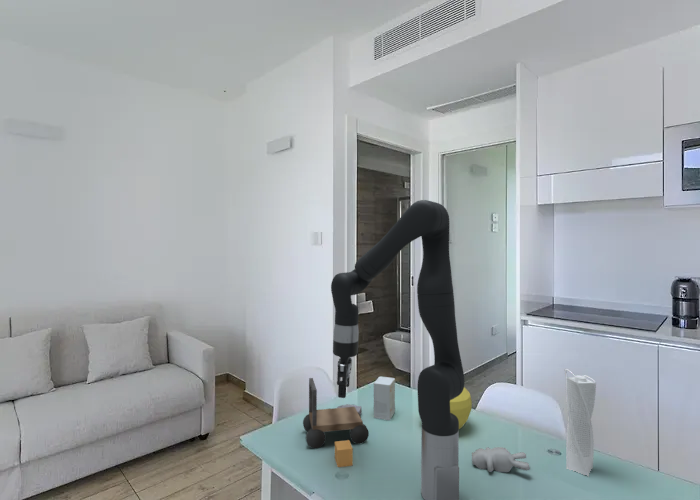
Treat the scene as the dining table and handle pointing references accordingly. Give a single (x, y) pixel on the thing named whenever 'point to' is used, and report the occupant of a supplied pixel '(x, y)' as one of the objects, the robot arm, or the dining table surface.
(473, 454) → the bunny figurine
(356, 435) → the trolley
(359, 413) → the stone block
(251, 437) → the dining table surface
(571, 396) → the skyscraper
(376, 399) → the small box
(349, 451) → the block
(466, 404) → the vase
